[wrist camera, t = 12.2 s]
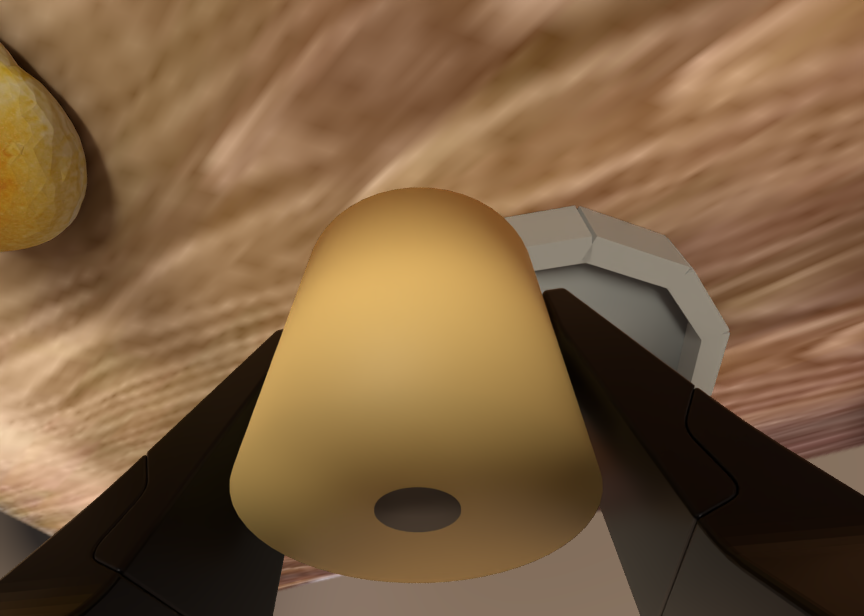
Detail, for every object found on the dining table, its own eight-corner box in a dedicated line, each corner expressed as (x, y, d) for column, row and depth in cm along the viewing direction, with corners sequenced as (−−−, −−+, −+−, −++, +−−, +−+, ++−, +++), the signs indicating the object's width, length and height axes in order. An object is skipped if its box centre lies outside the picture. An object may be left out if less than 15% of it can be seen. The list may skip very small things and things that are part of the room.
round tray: (731, 178, 19) (768, 207, 17) (672, 428, 30) (690, 463, 28) (333, 247, 21) (323, 280, 19) (412, 458, 31) (411, 494, 29)
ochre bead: (527, 165, 8) (616, 360, 4) (537, 356, 11) (595, 571, 8) (270, 211, 9) (148, 422, 5) (346, 382, 12) (307, 594, 8)
